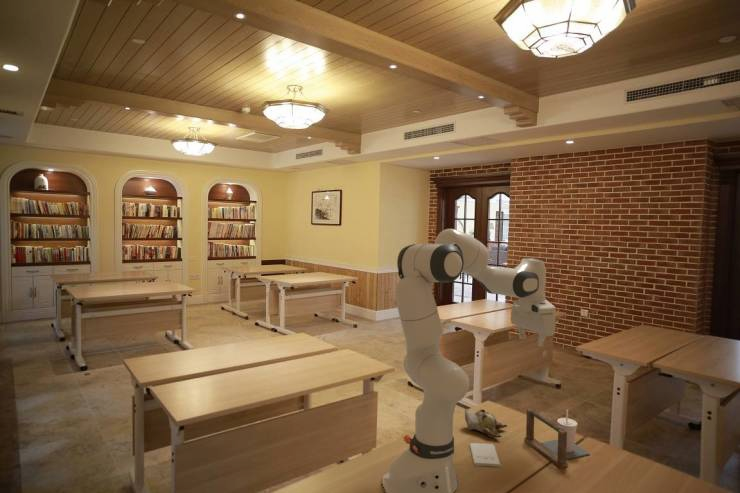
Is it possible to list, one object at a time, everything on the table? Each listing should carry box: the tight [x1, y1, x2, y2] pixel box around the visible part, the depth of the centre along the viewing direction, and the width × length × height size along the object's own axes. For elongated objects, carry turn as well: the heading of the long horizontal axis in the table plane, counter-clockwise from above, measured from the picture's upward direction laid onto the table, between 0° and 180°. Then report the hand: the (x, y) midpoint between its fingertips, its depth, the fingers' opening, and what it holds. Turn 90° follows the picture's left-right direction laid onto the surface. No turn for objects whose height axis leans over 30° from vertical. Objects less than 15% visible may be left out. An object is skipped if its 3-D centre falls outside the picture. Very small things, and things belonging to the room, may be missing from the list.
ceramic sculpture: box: [464, 408, 508, 438], centre depth 166 cm, size 11×9×15 cm
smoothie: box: [556, 409, 578, 452], centre depth 152 cm, size 6×6×14 cm
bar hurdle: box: [524, 408, 569, 469], centre depth 151 cm, size 3×18×12 cm, turn 17°
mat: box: [540, 439, 591, 461], centre depth 153 cm, size 11×11×1 cm
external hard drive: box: [469, 442, 501, 468], centre depth 149 cm, size 2×8×12 cm
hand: (531, 342), depth 158 cm, fingers open, 8 cm apart
